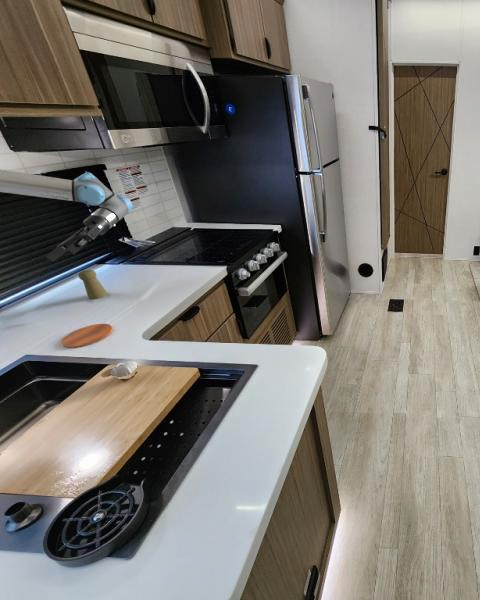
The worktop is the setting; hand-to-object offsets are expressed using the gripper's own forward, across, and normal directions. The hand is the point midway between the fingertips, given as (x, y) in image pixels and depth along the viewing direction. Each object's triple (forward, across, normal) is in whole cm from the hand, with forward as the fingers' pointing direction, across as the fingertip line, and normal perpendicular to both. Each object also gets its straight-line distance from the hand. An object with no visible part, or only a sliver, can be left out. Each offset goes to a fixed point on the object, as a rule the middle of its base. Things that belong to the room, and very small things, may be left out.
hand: (59, 255), depth 122 cm
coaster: (+26, -21, -18) cm, 38 cm away
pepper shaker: (+2, +4, -19) cm, 20 cm away
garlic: (+42, -51, -23) cm, 70 cm away
